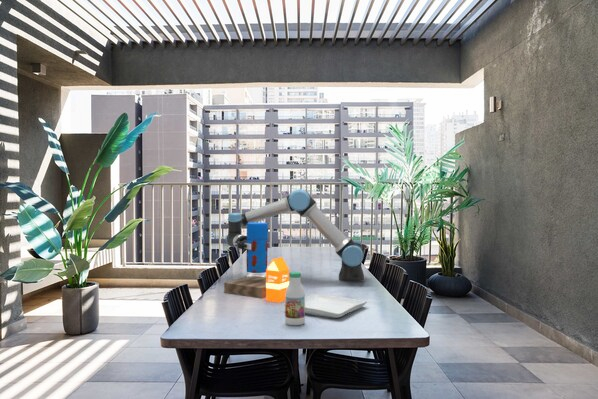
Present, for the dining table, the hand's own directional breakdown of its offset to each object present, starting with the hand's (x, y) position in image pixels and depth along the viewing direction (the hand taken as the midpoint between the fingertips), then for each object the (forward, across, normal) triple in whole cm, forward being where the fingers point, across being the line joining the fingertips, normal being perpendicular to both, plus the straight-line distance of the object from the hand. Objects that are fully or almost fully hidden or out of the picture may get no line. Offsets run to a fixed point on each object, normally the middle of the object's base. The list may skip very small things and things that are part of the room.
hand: (260, 246), depth 242 cm
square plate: (+46, -8, -24) cm, 53 cm away
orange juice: (+18, 0, -24) cm, 30 cm away
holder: (-45, -20, -25) cm, 55 cm away
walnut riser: (-4, 0, -24) cm, 24 cm away
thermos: (-4, 0, -14) cm, 14 cm away
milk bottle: (+57, +14, -24) cm, 63 cm away
